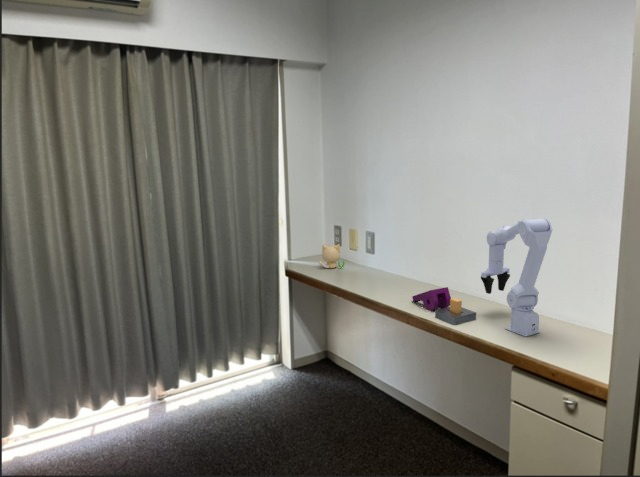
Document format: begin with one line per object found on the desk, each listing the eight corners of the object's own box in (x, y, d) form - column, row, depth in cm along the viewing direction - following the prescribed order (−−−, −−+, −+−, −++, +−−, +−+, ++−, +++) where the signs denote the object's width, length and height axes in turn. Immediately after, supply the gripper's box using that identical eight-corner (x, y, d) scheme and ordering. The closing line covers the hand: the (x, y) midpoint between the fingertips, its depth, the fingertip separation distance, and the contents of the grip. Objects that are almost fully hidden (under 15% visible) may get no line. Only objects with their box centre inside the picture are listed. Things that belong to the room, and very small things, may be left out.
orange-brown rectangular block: (461, 319, 193) (461, 300, 192) (456, 320, 192) (457, 301, 191) (454, 316, 197) (454, 298, 195) (449, 317, 196) (450, 299, 194)
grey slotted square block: (476, 319, 192) (476, 312, 192) (454, 325, 187) (454, 317, 186) (456, 312, 202) (456, 305, 201) (435, 317, 196) (435, 310, 196)
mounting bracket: (412, 315, 217) (435, 309, 201) (408, 297, 218) (430, 290, 203) (429, 312, 220) (453, 305, 205) (424, 294, 222) (447, 287, 206)
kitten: (345, 266, 290) (344, 242, 287) (343, 270, 280) (343, 245, 278) (321, 266, 292) (320, 242, 289) (319, 269, 282) (318, 245, 279)
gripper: (500, 256, 201) (499, 286, 203) (476, 260, 194) (475, 292, 196) (514, 259, 195) (512, 290, 197) (489, 263, 188) (488, 296, 190)
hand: (494, 291), depth 196 cm, fingers open, 7 cm apart
